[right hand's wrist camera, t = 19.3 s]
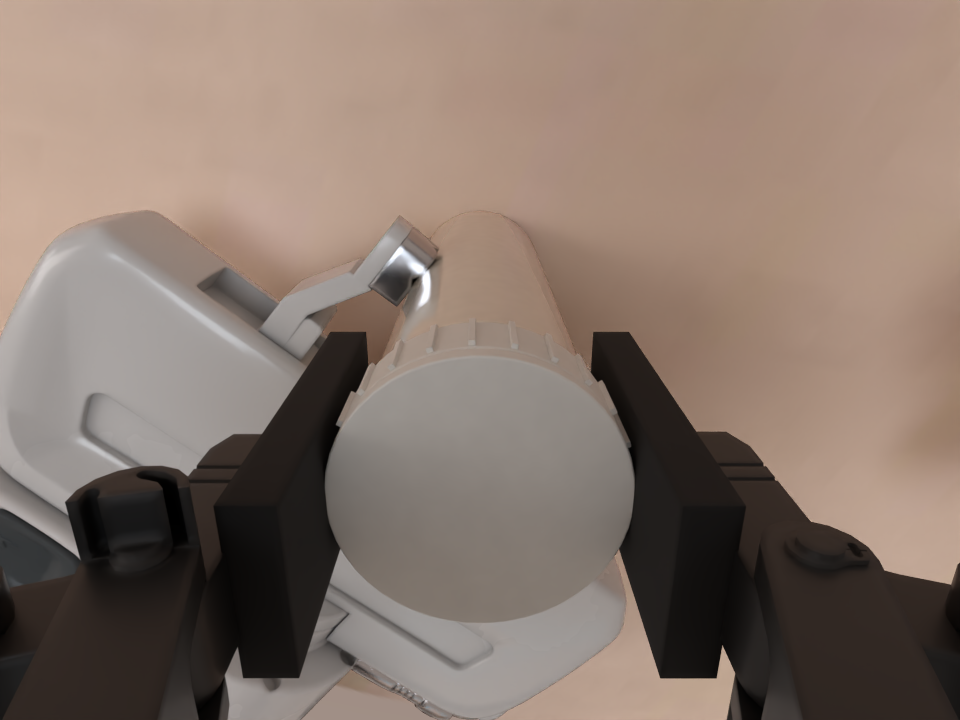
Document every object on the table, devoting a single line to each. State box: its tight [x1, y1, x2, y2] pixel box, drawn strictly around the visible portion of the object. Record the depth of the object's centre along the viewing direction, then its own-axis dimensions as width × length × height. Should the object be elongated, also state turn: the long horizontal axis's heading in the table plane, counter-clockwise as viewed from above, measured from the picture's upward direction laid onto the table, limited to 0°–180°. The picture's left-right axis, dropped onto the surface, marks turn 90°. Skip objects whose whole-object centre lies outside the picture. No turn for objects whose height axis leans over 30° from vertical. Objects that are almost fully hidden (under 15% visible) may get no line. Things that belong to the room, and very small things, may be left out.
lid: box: [325, 318, 635, 623], centre depth 11 cm, size 5×5×2 cm
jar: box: [381, 211, 576, 360], centre depth 18 cm, size 4×4×15 cm
